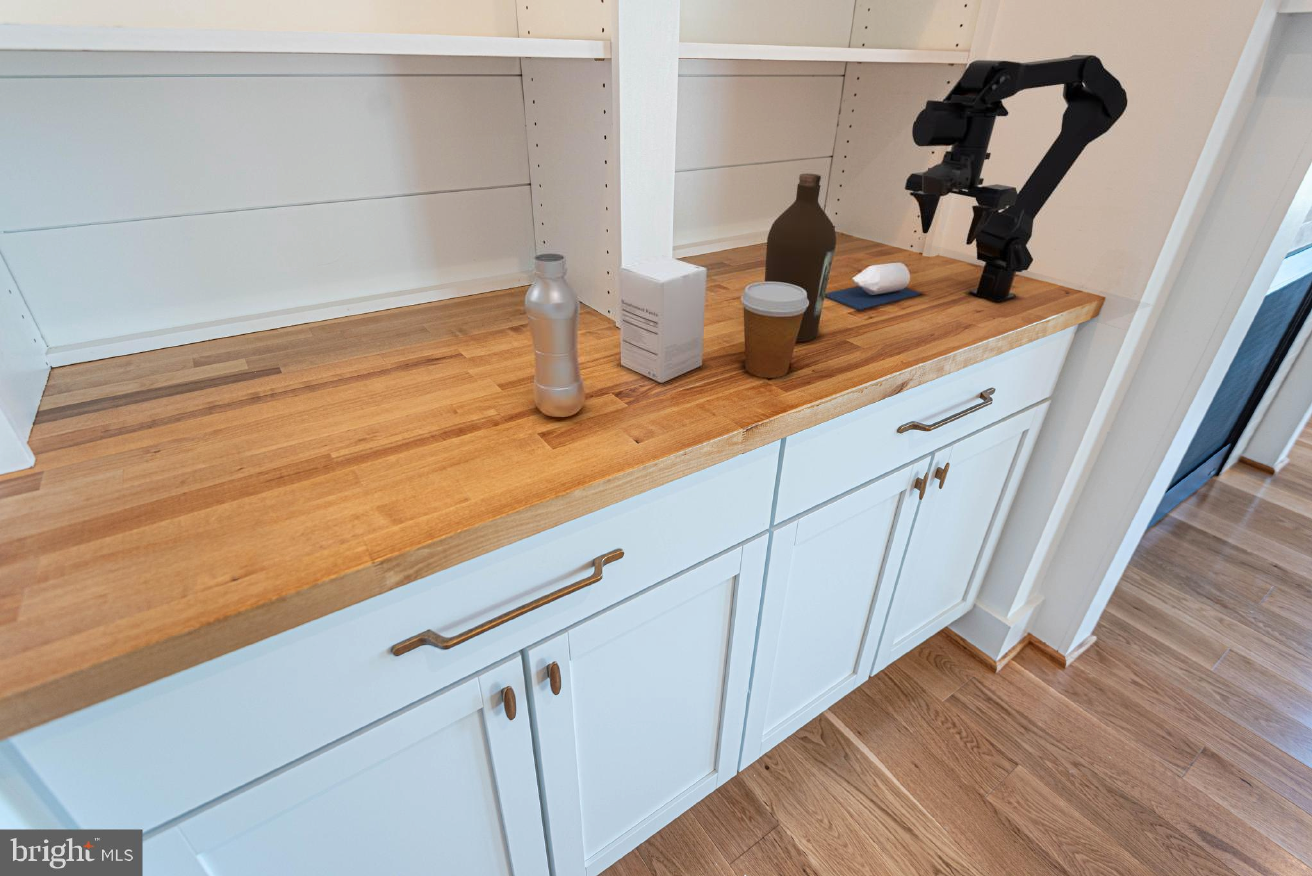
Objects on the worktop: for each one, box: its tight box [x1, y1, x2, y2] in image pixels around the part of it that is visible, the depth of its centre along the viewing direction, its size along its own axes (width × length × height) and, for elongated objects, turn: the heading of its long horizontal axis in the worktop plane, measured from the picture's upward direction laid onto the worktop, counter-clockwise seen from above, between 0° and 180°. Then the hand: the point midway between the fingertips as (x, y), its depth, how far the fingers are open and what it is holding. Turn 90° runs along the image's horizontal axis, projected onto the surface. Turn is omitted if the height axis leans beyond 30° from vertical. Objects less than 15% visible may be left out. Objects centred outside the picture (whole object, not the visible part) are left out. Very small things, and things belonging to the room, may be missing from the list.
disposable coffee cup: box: [740, 281, 809, 379], centre depth 92 cm, size 10×10×12 cm
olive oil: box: [764, 173, 837, 344], centre depth 101 cm, size 11×11×25 cm
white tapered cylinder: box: [851, 262, 911, 295], centre depth 124 cm, size 6×12×6 cm, turn 118°
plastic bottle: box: [524, 252, 586, 418], centre depth 78 cm, size 6×7×20 cm
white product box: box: [618, 255, 708, 384], centre depth 91 cm, size 9×9×15 cm
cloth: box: [824, 285, 923, 311], centre depth 125 cm, size 18×10×1 cm, turn 123°
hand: (946, 238), depth 116 cm, fingers open, 9 cm apart
